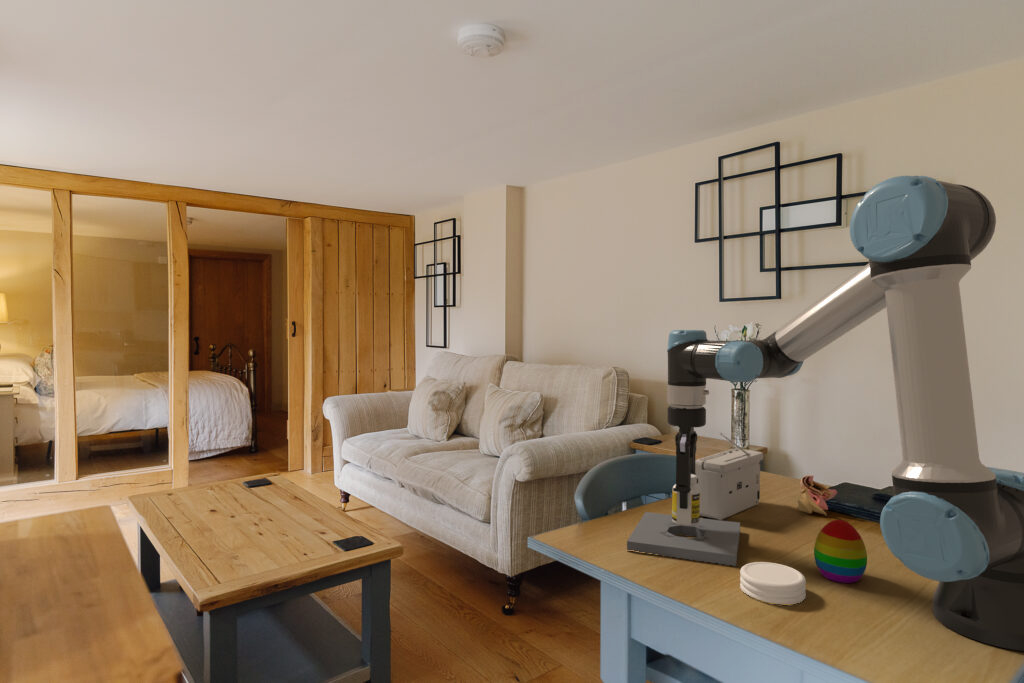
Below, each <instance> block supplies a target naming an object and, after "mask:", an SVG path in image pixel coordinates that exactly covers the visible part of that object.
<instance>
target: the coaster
mask: <svg viewBox="0 0 1024 683" xmlns="http://www.w3.org/2000/svg"><path fill="white" fill-rule="evenodd" d="M739 574H740V576H739V580H740V583H739V588H740V590H741V591H743V592H744V593H746V594H747V595H749V596H751V597H753V598H756V599H758V600H762V601H765V602H769V603H776V604H796V603H799V604H801V603H802V601H803V600H804V599H806V598H807V594H806V590H807V587H806V586H807V585H806V583H807V580H806V577H805V576H804V574H803V573H802V572H800V571H799V570H797V569H795V568H793V567H791V566H788V565H784V564H781V563H775V562H769V561H768V562H767V561H755V562H754V561H753V562H749V563H746V564H744V565H743V566H741V568H740V570H739ZM744 593H743V594H744ZM746 594H745V595H746ZM747 595H746V596H747ZM749 596H748V597H749ZM804 601H805V600H804ZM804 601H803V602H804ZM800 602H801V603H800ZM796 605H797V604H796Z"/></svg>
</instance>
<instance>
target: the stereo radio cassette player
mask: <svg viewBox="0 0 1024 683" xmlns="http://www.w3.org/2000/svg"><path fill="white" fill-rule="evenodd" d="M719 435H720V436H722V437H724V438H725V439H726V441H728V442H729V443H730V444H732V445H733V446H734V447H735V448H731V449H728V450H724V451H721V452H718V453H715V454H711V455H707V456H704V457H701V458H697V459H696V458H695V473H696V476H697V479H698V483H696V484H695V485H696V486H698V487H699V489H700V514H699V517H706V518H708V519H713V520H721V521H723V520H724V519H727V518H729V517H732V516H733V515H736V514H737V513H740V512H742V511H745V510H747V509H749V508H752V507H754V506H757V505H759V503H760V499H761V461H763V460H764V453H763V452H761V451H757V450H752V449H751V450H750V449H745V448H742V447H740V445H738V444H737V443H736V442H734V441H733V440H731V439H730V438H728V437H727V436H725V435H724V434H723V433H722V432H719Z"/></svg>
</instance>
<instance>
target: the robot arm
mask: <svg viewBox="0 0 1024 683" xmlns="http://www.w3.org/2000/svg"><path fill="white" fill-rule="evenodd" d="M996 224H997V217H996V212H995V209H994V207H993V205H992V203H991V201H990V200H989V198H987V196H985V195H984V194H983V193H981V192H980V191H979V190H977V189H975V188H973V187H971V186H967V185H964V184H956V183H951V182H946V181H941V180H938V179H937V180H936V179H935V178H933V177H928V176H926V175H898V176H893V177H889V178H887V179H885V180H883V181H880V182H879V183H877V184H875V185H874V186H873V187H871V188H870V189H869V190H868V191H866V192H865V194H864V195H863V197H862V198H861V199H860V200H859V201H858V203H856V206H855V207H854V209H853V212H852V215H851V217H850V221H849V236H850V239H851V240H850V241H851V242H852V245H853V247H854V249H856V250H857V252H859V253H860V254H861V255H862V256H863V257H864V258H866V259H868V263H867V264H866V265H864V266H863V267H861V268H860V269H859V270H857V271H856V272H855V273H853V274H852V275H850V276H849V277H848V278H846V279H845V280H844V281H842V282H841V283H840V284H838V285H837V286H835V287H834V288H833V289H831V290H830V291H829V292H827V293H826V294H824V295H823V296H822V297H820V298H819V299H818V300H816V301H815V302H814V303H812V304H811V305H810V306H808V307H807V308H805V309H804V310H803V311H801V312H800V313H799V314H797V315H796V316H795V317H793V318H792V319H790V320H789V321H788V322H786V323H785V324H783V325H782V326H781V327H780V328H778V329H777V330H776V331H774V332H773V333H771V334H770V335H768V336H767V337H765V338H764V339H751V340H748V339H747V340H709V339H708V336H707V332H706V331H705V330H703V329H673V330H671V331H670V332H669V333H668V342H667V350H666V351H667V384H666V385H667V391H666V394H667V396H666V397H667V400H666V401H667V404H669V406H668V407H667V424H668V425H670V426H672V427H677V428H678V432H677V433H676V434H675V439H674V440H675V441H674V443H675V456H676V457H675V462H676V463H675V465H676V466H675V467H676V468H675V484H676V486H675V488H673V487H672V492H673V491H677V523H678V524H687V525H691V488H690V484H691V474H694V475H696V473H695V460H696V453H697V441H698V433H697V431H696V430H695V429H694V428H701V427H704V426H705V425H706V424H707V409H706V408H705V407H704V406H705V405H706V403H707V400H706V399H707V397H706V396H708V395H710V391H709V389H706V388H707V379H711V380H718V381H724V382H730V383H733V384H735V383H750V382H753V381H754V380H756V379H780V378H785V377H790V376H793V375H795V374H797V373H799V371H800V370H801V368H802V366H803V364H804V361H805V360H807V359H808V358H810V357H812V356H813V355H815V354H816V353H817V352H819V351H821V350H822V349H824V348H825V347H827V346H828V345H830V344H832V343H833V342H835V341H837V340H838V339H839V338H841V337H842V336H844V335H846V334H847V333H849V332H851V330H854V328H856V327H858V326H859V325H861V324H862V323H864V322H866V321H867V320H869V319H870V318H872V317H873V316H875V315H877V313H880V312H881V311H883V310H884V309H886V314H887V323H888V324H887V325H888V333H889V340H890V342H889V343H890V351H891V361H892V370H893V371H892V372H893V379H894V388H895V399H896V408H897V409H896V410H897V417H898V425H899V426H898V427H899V435H900V444H901V455H902V456H901V457H902V459H901V462H900V463H899V464H898V465H897V466H896V467H895V468H894V469H892V471H891V480H892V481H891V482H892V490H893V496H892V497H890V499H889V500H888V501H887V503H886V504H885V505H884V507H883V508H882V511H881V513H880V518H879V526H880V531H881V535H882V539H883V540H884V542H885V544H886V546H887V548H888V549H889V550H890V552H891V554H892V555H893V556H894V557H895V558H896V559H898V560H899V561H900V562H901V563H902V564H903V566H905V567H906V568H907V569H909V570H910V571H911V572H913V573H915V574H916V575H917V576H918V575H919V576H921V577H924V578H926V579H929V580H932V581H937V582H938V583H937V586H936V587H935V591H934V593H933V595H932V605H931V607H932V611H931V612H932V614H933V616H934V618H935V620H937V621H938V622H940V623H941V625H943V626H945V627H947V628H948V629H950V630H951V631H954V632H955V633H957V634H961V635H962V636H964V637H967V638H969V639H972V640H975V641H977V642H981V643H984V644H988V645H990V646H995V647H998V648H1003V649H1008V650H1012V651H1013V650H1014V651H1021V652H1024V472H1022V471H1021V472H1020V471H1017V470H1010V469H1003V468H997V467H990V466H985V464H983V463H982V462H981V459H980V455H979V454H980V453H979V445H978V444H979V443H978V437H977V429H976V428H977V427H976V418H975V410H974V409H975V408H974V402H973V401H974V399H973V395H972V394H973V392H972V385H971V377H970V368H969V359H968V351H967V341H966V333H965V332H966V331H965V324H964V316H963V315H964V314H963V307H962V300H961V299H962V298H961V288H960V282H961V280H962V279H963V278H964V277H965V276H966V275H967V274H968V273H969V272H970V270H971V269H972V262H971V261H972V260H973V259H975V258H977V256H979V255H980V254H981V253H982V252H983V251H984V250H985V249H986V248H987V246H988V244H990V242H991V240H992V239H993V236H994V233H995V231H996ZM696 483H698V479H697V482H696Z"/></svg>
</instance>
